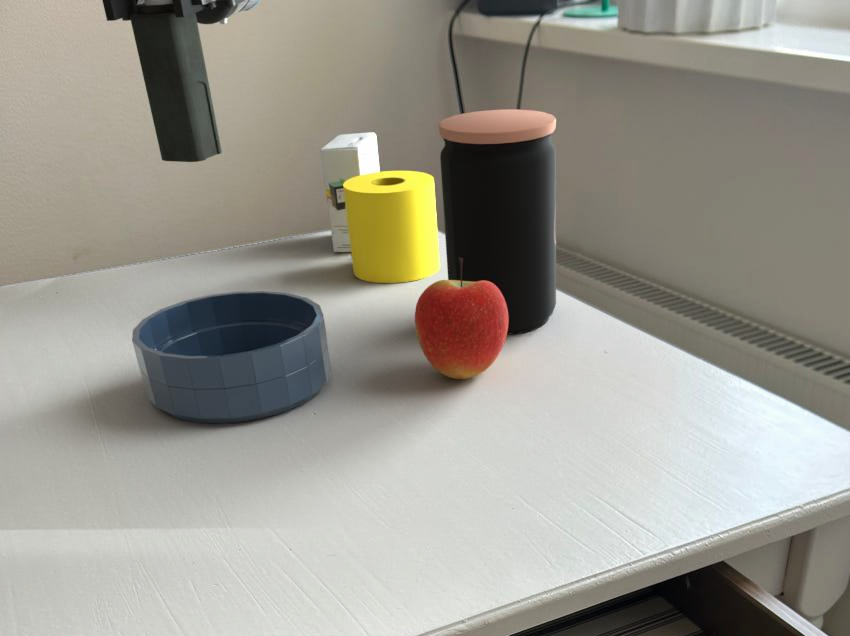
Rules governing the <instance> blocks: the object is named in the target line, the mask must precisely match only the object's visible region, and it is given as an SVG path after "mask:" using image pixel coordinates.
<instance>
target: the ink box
mask: <svg viewBox="0 0 850 636" xmlns="http://www.w3.org/2000/svg"><path fill="white" fill-rule="evenodd" d="M320 159H321V165H322V172H323V179H324V180H323V181H324V187H325V194H326V202H327V210H328V216H329V224H330V231H331V233H330V234H331V240H332V249H333V252H334V253H351V245H350V237H349V229H348V221H347V212H346V204H345V196H344V188H343V184H344V182H345V181H347V180H348V179H351V178H353V177H356V176H359V175H364V174H368V173H375V172H381V170H380V161H379V149H378V139H377V134H376V133H375V132H371V131H370V132H369V131H368V132H358V133H343V134H338V135H336V136H335V137H334V138H333V139H331V140H330V141H329V142H328V143H327V144H326V145H324V146H322V147H321V148H320Z"/></svg>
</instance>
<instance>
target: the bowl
mask: <svg viewBox="0 0 850 636" xmlns="http://www.w3.org/2000/svg"><path fill="white" fill-rule="evenodd" d="M324 315H325V314H324V312H323V309H322V308H321V305H320V304H318V303H316V302H315V301H314V300H312V299H310V298H308V297H306V296H302V295H298V294H294V293H292V292H291V293H290V292H283V291H273V290H246V291H245V290H243V291H242V290H241V291H240V290H239V291H231V292H230V291H229V292H223V293H222V292H221V293H214V294H209V295H204V296H199V297H196V298H191V299H187V300H182V301H180V302H177V303H174V304H171V305H169V306H166V307H163V308H161V309H158V310H157V311H155V312H153V313H151V314H149V315H148V316H146V317H144V318H142V319H141V321H139V323H137V325H136V326H134V328H133V329H132V334H131V335H132V336H131V337H132V339H131V342H132V346H133V350H134V352H135V356H136V360H137V364H138V367H139V371H140V375H141V379H142V383H143V386H144V389H145V393H146V397H147V400H149V401H150V402H151V403H152V404H153V405H154V406H155V408H157V409H158V410H161V411H163V412H165V413H167V414H169V415H170V416H173V417H175V418H177V419H181V420H183V421H189V422H194V423H201V424H233V423H241V422H250V421H256V420H262V419H264V418H270V417H273V416H277V415H279V414H282V413H286V412H288V411H290V410H293V409H295V408H297V407H299V406H301V405H303V404H305V403H307V402H309V400H311V399H312V398H314V396H316V395H317V393H319V391H320V390H321V388H323V386H325V385H326V384H327V383H328V381H329V378H330V376H331V373H332V371H333V369H332V364H331V358H330V356H331V355H330V351H329V343H328V335H327V329H326V323H325V316H324Z"/></svg>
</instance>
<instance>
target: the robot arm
mask: <svg viewBox="0 0 850 636" xmlns="http://www.w3.org/2000/svg"><path fill="white" fill-rule="evenodd" d="M101 1H102V5H103V10H104V14H105V18H106V21H107V22H110V21H111V22H113V21H118V20H122V21H123V22H124V21H125V22H126V21H131V19H130V14H132V13H137V12H138V11H137V7H136V5H138V4H143V3H145V2H144V0H101ZM260 2H261V0H173V5H174V10H175V15H176V18H177V17H186V16H188V15H191V14H193V13H196V19H197V24H201V25H213V24H217V23H219V24H220V25H226V24H227V23H228V22H229V20H228V18H229V17H231V16H234V15H236V14H238V13H240V12H244V11H247V12H248V11H249V10H251V9H254V8H255V7H256V6H257V5H258V4H259V3H260Z"/></svg>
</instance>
